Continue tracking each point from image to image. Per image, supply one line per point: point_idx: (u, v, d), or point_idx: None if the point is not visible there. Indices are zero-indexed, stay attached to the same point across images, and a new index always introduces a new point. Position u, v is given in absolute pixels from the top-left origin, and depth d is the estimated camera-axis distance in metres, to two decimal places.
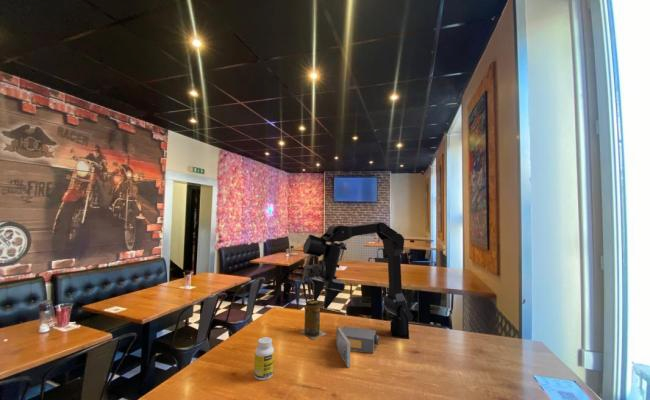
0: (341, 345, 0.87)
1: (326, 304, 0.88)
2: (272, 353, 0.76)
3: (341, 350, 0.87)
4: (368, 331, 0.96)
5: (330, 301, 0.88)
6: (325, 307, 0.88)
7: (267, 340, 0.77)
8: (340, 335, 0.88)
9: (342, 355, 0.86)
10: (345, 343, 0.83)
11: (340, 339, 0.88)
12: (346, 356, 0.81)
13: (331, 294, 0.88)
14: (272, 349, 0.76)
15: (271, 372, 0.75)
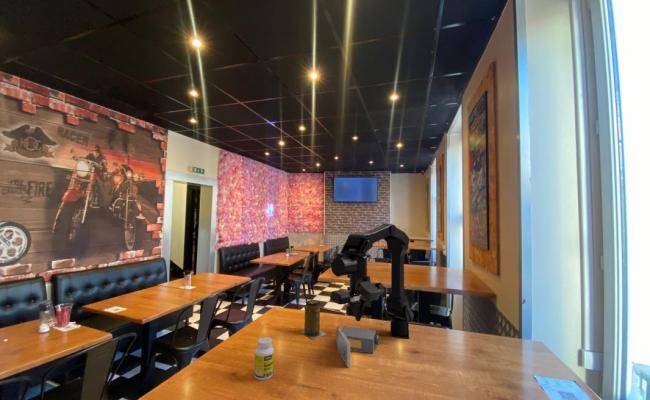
0: (341, 345, 0.87)
1: None
2: (272, 353, 0.76)
3: (341, 350, 0.87)
4: (368, 331, 0.96)
5: None
6: None
7: (267, 340, 0.77)
8: (340, 335, 0.88)
9: (342, 355, 0.86)
10: (345, 343, 0.83)
11: (340, 339, 0.88)
12: (346, 356, 0.81)
13: None
14: (272, 349, 0.76)
15: (271, 372, 0.75)
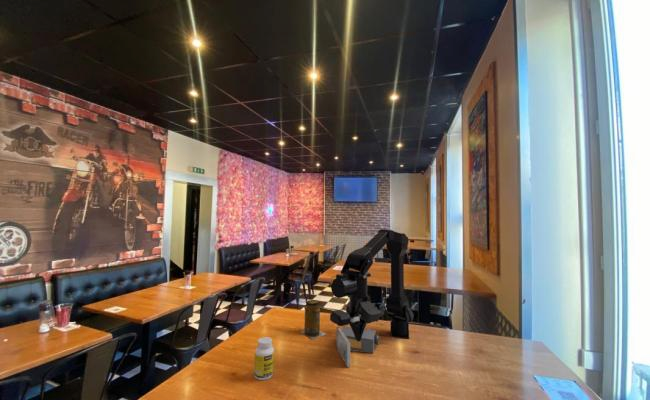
0: (341, 345, 0.87)
1: None
2: (272, 353, 0.76)
3: (341, 350, 0.87)
4: (368, 331, 0.96)
5: None
6: None
7: (267, 340, 0.77)
8: (340, 335, 0.88)
9: (342, 355, 0.86)
10: (345, 343, 0.83)
11: (340, 339, 0.88)
12: (346, 356, 0.81)
13: None
14: (272, 349, 0.76)
15: (271, 372, 0.75)
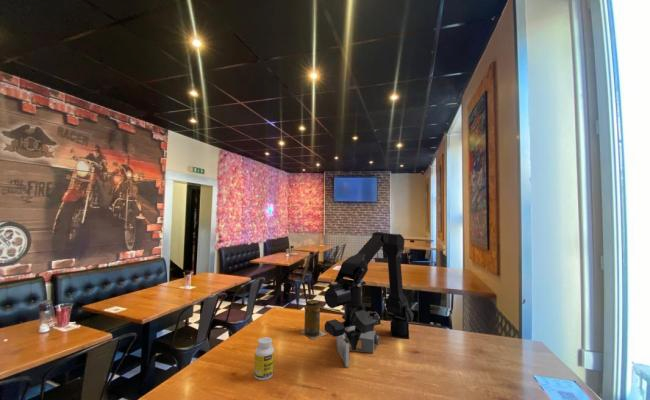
0: (340, 345, 0.87)
1: None
2: (272, 353, 0.76)
3: (341, 350, 0.87)
4: None
5: None
6: None
7: (267, 340, 0.77)
8: (340, 335, 0.88)
9: (341, 355, 0.85)
10: (344, 343, 0.83)
11: (340, 339, 0.88)
12: (345, 356, 0.81)
13: None
14: (272, 349, 0.76)
15: (271, 372, 0.75)
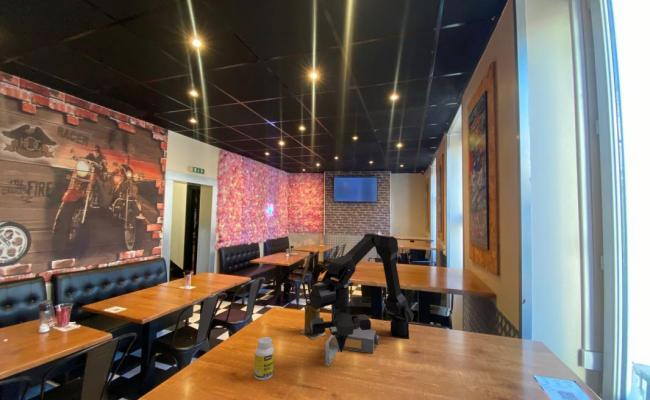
0: None
1: None
2: (272, 353, 0.76)
3: None
4: (368, 331, 0.96)
5: None
6: None
7: (267, 340, 0.77)
8: None
9: None
10: None
11: None
12: (325, 354, 0.82)
13: None
14: (272, 349, 0.76)
15: (271, 372, 0.75)
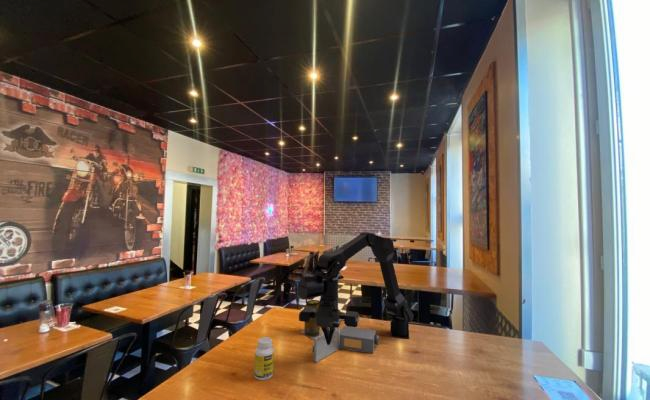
0: None
1: None
2: (272, 353, 0.76)
3: None
4: (368, 331, 0.96)
5: None
6: None
7: (267, 340, 0.77)
8: None
9: None
10: None
11: None
12: (313, 350, 0.84)
13: None
14: (272, 349, 0.76)
15: (271, 372, 0.75)
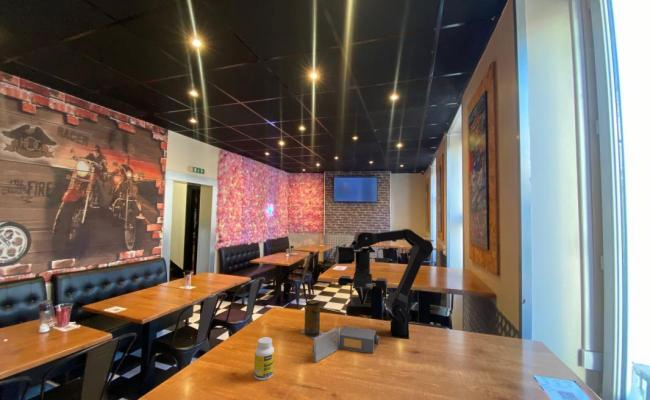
0: None
1: (364, 300, 1.03)
2: (272, 353, 0.76)
3: None
4: (368, 331, 0.96)
5: None
6: (363, 303, 1.03)
7: (267, 340, 0.77)
8: None
9: None
10: None
11: None
12: (313, 350, 0.84)
13: None
14: (272, 349, 0.76)
15: (271, 372, 0.75)
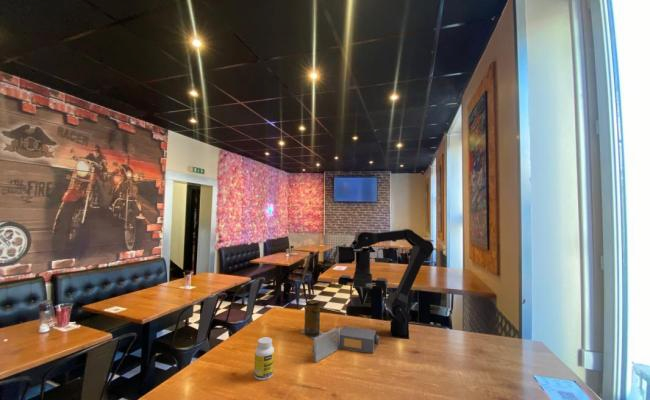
0: None
1: (364, 300, 1.04)
2: (272, 353, 0.76)
3: None
4: (368, 331, 0.96)
5: None
6: (363, 303, 1.04)
7: (267, 340, 0.77)
8: None
9: None
10: None
11: None
12: (313, 350, 0.84)
13: None
14: (272, 349, 0.76)
15: (271, 372, 0.75)
